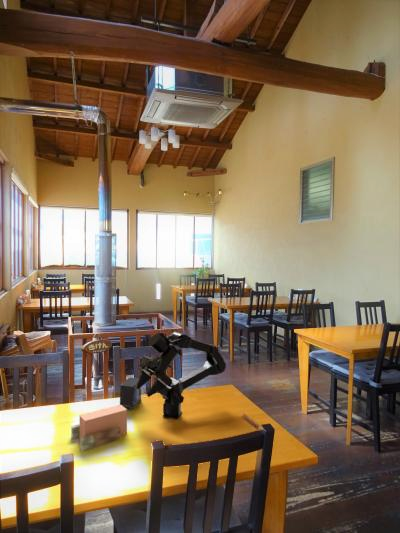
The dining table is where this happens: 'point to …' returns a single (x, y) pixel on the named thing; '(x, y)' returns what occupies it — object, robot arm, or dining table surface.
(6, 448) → the dining table surface
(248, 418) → the chocolate bar
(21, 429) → the dining table surface
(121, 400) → the small box
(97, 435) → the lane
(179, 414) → the robot arm
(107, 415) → the block
